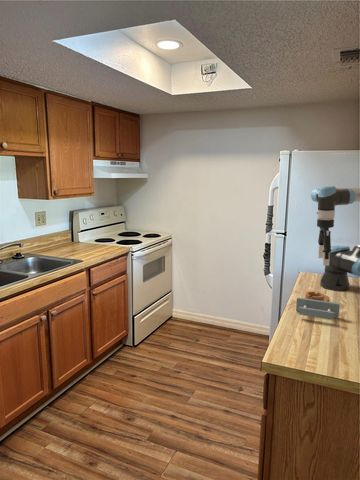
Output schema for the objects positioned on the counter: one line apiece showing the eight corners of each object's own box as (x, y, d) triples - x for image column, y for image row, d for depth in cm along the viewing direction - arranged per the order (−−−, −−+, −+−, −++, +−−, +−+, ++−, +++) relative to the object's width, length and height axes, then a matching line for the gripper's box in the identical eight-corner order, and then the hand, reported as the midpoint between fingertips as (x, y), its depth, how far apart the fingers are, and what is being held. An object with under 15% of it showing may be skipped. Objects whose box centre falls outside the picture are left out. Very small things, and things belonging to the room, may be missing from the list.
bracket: (319, 313, 165) (321, 298, 164) (301, 308, 170) (302, 294, 169) (331, 301, 179) (332, 288, 178) (314, 298, 184) (315, 285, 183)
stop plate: (296, 309, 167) (297, 297, 166) (338, 316, 160) (339, 303, 158) (293, 316, 159) (294, 303, 158) (338, 324, 152) (339, 310, 150)
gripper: (313, 214, 185) (311, 254, 190) (321, 223, 162) (319, 268, 166) (329, 214, 184) (326, 255, 188) (339, 223, 160) (336, 269, 164)
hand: (323, 261), depth 177 cm, fingers open, 13 cm apart
